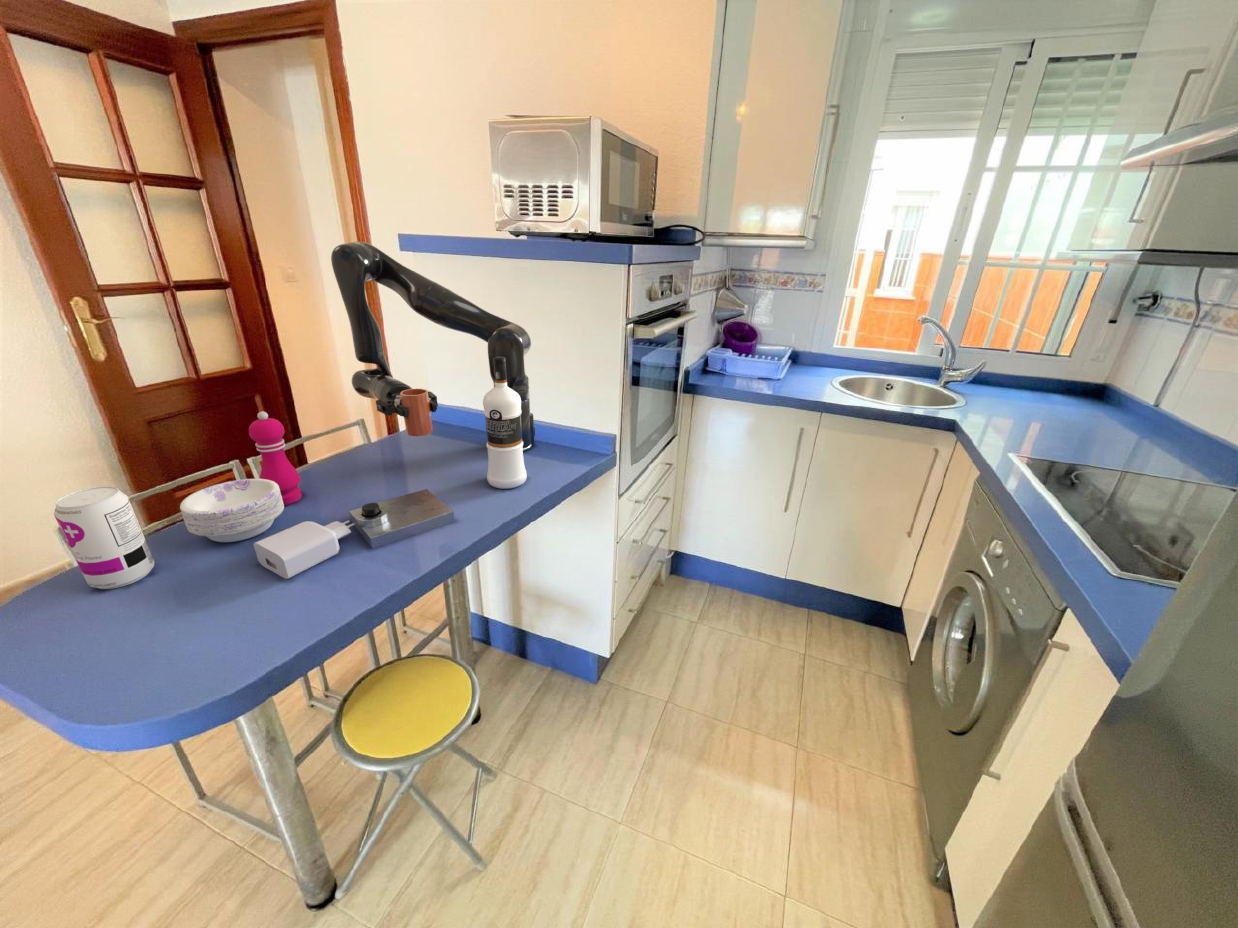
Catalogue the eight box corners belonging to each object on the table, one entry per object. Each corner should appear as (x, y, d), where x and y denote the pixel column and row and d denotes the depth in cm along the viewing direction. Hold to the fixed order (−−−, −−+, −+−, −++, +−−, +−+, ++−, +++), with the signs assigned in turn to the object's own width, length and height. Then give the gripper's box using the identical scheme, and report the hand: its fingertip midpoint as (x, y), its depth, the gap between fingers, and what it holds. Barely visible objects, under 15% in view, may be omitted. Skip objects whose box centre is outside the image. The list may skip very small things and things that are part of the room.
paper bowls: (258, 504, 107) (248, 470, 103) (305, 522, 101) (296, 487, 98) (174, 538, 94) (160, 500, 91) (222, 560, 88) (208, 521, 85)
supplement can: (99, 598, 78) (59, 514, 72) (82, 579, 82) (42, 499, 76) (164, 572, 85) (132, 493, 79) (144, 556, 89) (112, 480, 83)
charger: (369, 540, 96) (289, 581, 84) (339, 526, 100) (259, 564, 88) (365, 518, 94) (282, 557, 82) (334, 505, 98) (251, 541, 86)
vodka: (534, 477, 123) (528, 355, 111) (513, 493, 115) (505, 363, 103) (501, 471, 126) (493, 351, 114) (479, 485, 118) (468, 358, 106)
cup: (427, 425, 126) (421, 387, 122) (437, 432, 122) (432, 392, 118) (402, 431, 122) (396, 391, 118) (412, 438, 118) (406, 397, 114)
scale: (428, 498, 112) (426, 482, 110) (454, 521, 103) (452, 504, 101) (348, 522, 101) (344, 504, 100) (370, 550, 93) (366, 531, 91)
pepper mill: (311, 493, 112) (290, 407, 104) (289, 508, 105) (265, 418, 97) (281, 490, 113) (258, 405, 104) (257, 506, 106) (230, 416, 98)
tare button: (377, 509, 99) (375, 501, 99) (382, 514, 97) (381, 507, 97) (361, 513, 97) (359, 505, 97) (366, 519, 95) (364, 511, 95)
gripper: (362, 384, 123) (386, 400, 112) (420, 376, 132) (448, 390, 121) (368, 413, 126) (392, 432, 115) (424, 403, 135) (451, 419, 124)
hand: (420, 410), depth 118 cm, fingers closed on cup, 6 cm apart
